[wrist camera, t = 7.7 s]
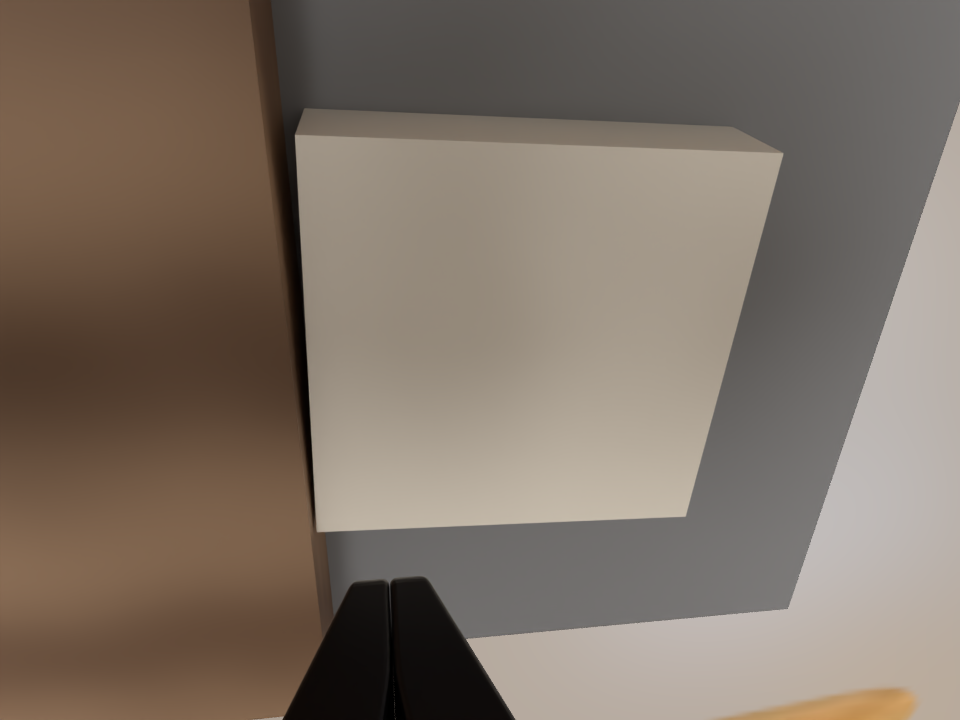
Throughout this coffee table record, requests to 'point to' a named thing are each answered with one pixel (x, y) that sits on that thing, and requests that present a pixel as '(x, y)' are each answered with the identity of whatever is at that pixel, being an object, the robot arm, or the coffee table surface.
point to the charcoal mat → (772, 286)
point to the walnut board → (151, 369)
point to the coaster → (518, 312)
